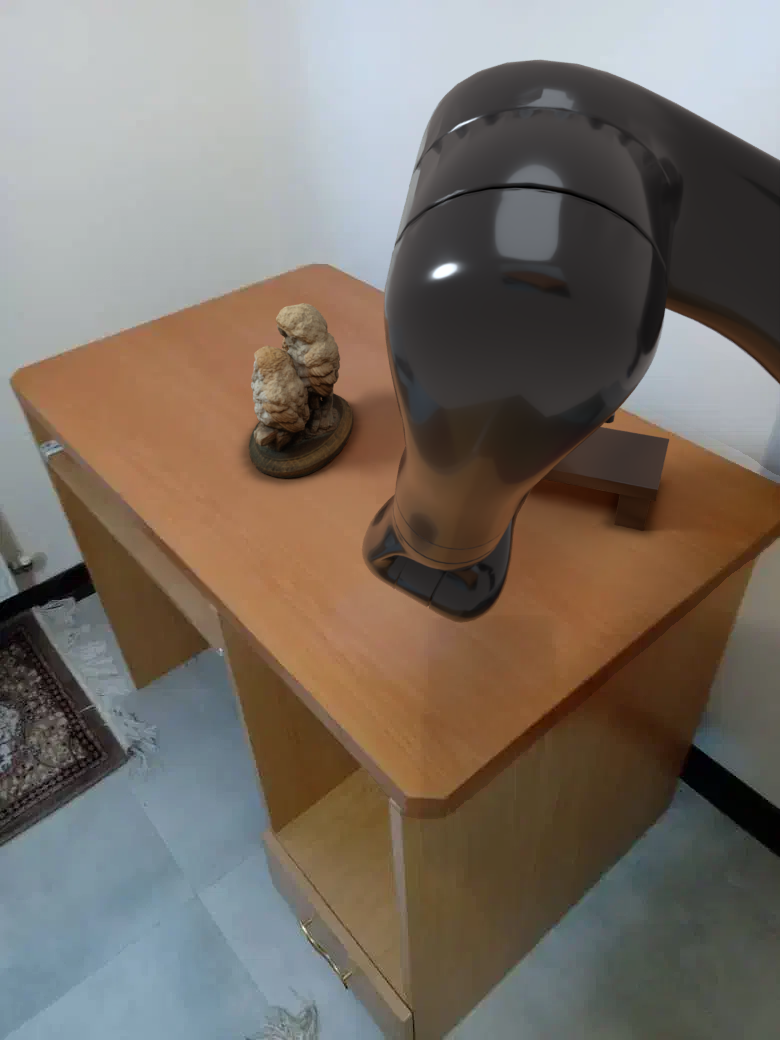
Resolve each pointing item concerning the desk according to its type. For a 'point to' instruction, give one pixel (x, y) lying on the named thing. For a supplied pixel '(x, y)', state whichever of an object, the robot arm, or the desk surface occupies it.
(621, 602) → the desk surface
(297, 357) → the owl figurine
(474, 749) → the desk surface
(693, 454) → the desk surface
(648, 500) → the bench
